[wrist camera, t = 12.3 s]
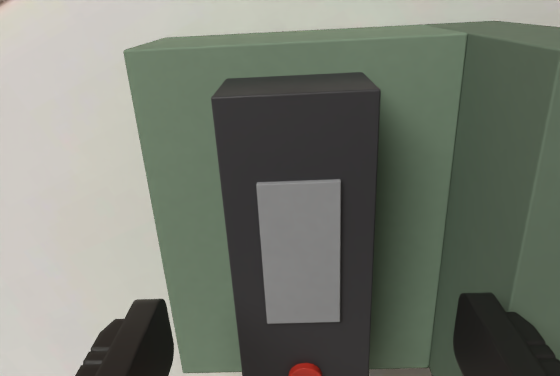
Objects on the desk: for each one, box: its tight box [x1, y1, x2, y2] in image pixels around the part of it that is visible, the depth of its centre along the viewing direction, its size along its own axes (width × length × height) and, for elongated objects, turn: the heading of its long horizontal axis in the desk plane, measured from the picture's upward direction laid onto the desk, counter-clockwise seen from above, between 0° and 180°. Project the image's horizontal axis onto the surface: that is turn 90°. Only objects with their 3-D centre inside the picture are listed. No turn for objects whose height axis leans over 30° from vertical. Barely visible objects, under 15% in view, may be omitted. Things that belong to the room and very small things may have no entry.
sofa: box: [124, 21, 560, 376], centre depth 16 cm, size 14×14×10 cm
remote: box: [211, 72, 381, 376], centre depth 15 cm, size 12×4×3 cm, turn 3°
